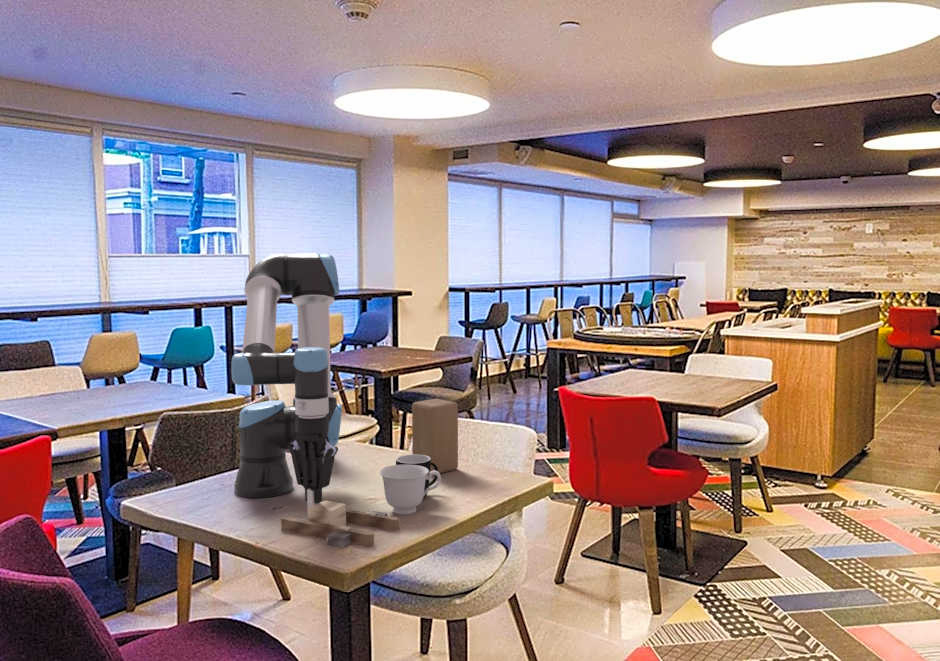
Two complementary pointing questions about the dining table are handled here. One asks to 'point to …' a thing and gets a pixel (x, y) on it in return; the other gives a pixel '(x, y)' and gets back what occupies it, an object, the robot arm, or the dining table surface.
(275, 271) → the robot arm
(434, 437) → the block
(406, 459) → the mug
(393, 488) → the teacup
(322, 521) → the block
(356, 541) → the beam slot
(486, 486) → the dining table surface
